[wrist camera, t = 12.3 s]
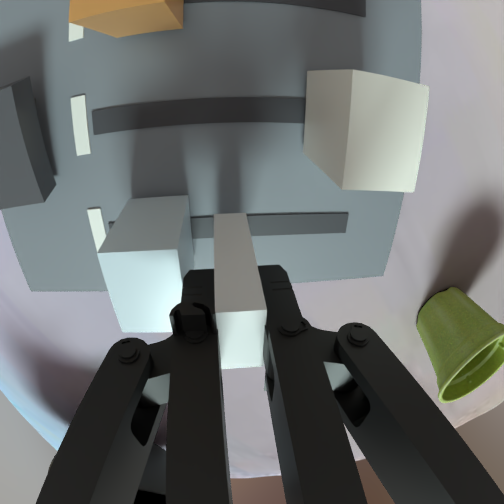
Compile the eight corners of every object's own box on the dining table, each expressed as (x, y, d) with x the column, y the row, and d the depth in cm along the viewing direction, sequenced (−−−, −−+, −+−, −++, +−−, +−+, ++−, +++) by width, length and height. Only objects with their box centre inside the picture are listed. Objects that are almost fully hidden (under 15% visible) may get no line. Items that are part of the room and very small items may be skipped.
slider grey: (188, 194, 14) (177, 249, 10) (194, 264, 17) (190, 331, 12) (129, 199, 14) (96, 253, 10) (141, 266, 16) (122, 332, 12)
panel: (393, -11, 12) (426, -22, 8) (365, 252, 22) (387, 282, 18) (9, 13, 9) (-24, 9, 6) (47, 266, 19) (27, 297, 16)
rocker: (29, 76, 9) (11, 85, 8) (56, 184, 13) (44, 202, 12) (-26, 99, 8) (-44, 111, 7) (4, 193, 13) (-9, 211, 12)
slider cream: (366, 78, 12) (429, 86, 8) (359, 155, 14) (413, 192, 10) (307, 71, 12) (352, 69, 8) (302, 152, 14) (341, 189, 10)
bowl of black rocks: (193, 463, 42) (198, 560, 26) (80, 447, 38) (70, 539, 22) (198, 414, 32) (206, 565, 16) (41, 388, 28) (12, 521, 12)
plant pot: (446, 258, 23) (503, 323, 16) (483, 286, 26) (526, 339, 19) (384, 332, 27) (421, 403, 20) (431, 346, 30) (463, 402, 23)
